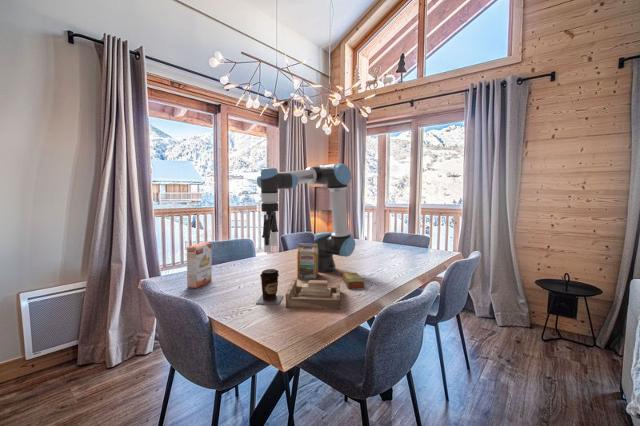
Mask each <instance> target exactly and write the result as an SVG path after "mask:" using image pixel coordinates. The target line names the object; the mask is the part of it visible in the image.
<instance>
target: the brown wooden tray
mask: <svg viewBox="0 0 640 426" xmlns="http://www.w3.org/2000/svg"><path fill="white" fill-rule="evenodd" d="M297 282H298V279H297V277H293V278H292V281H291V283H290V284H289V286H288V288H287V290H286V292H285V308H290V309H291V308H292V309H314V310H315V309H316V308H317V309H319V308H320V309H321V310H322V308H324V309H323V310H340V309H341V279H340V278H337V279H336V286H328V288H331V293H336V294H335V295H336V298H330V297H328V298H327V297H326V298H324V297H323V298H322V297H295V295H296V293H297V291H298V292H301V290H302V286H303V285H298V283H297Z"/></svg>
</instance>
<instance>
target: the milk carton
mask: <svg viewBox="0 0 640 426" xmlns="http://www.w3.org/2000/svg"><path fill="white" fill-rule="evenodd" d="M296 253H297V254H296V255H297V259H296V261H297V270H296V271H297V272H296V273H297V277H296V278H297V280H299V279H302V280H317V278H318V275H319V272H318V247H317V244H314V243H298V249H297V252H296Z"/></svg>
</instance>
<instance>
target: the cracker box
mask: <svg viewBox="0 0 640 426" xmlns="http://www.w3.org/2000/svg"><path fill="white" fill-rule="evenodd" d="M212 269H213V268H212V243H211V242H200V243H196V244H194V245H190V246H187V247H186V278H187V279H186V281H187V282H186V283H187V284H186V287H187V288H190V289H197V288H200V287H201V286H203V285H206V284H207V283H210V282H212V280H213V279H212V278H213V277H212V273H213V272H212V271H213V270H212Z"/></svg>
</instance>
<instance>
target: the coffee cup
mask: <svg viewBox="0 0 640 426" xmlns="http://www.w3.org/2000/svg"><path fill="white" fill-rule="evenodd" d="M259 276H260V281H261V293H262V294H261V296H262V295H263V300H264V301H273V300H276V299H277V296H276V295H277V293H278V285H279V280H278V279H279V277H280V275H279V270H277V269H274V268H268V269H263V270H262V272H261V274H260V275H259Z"/></svg>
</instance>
